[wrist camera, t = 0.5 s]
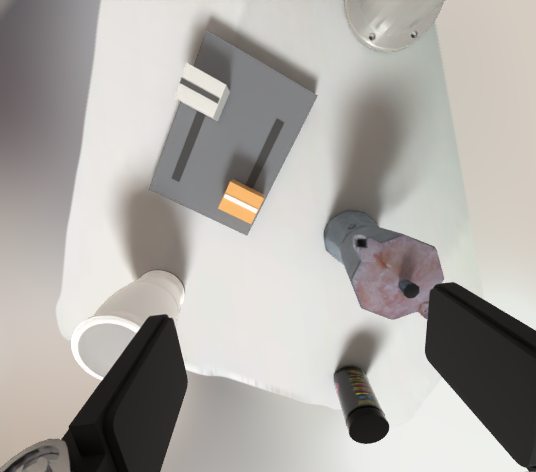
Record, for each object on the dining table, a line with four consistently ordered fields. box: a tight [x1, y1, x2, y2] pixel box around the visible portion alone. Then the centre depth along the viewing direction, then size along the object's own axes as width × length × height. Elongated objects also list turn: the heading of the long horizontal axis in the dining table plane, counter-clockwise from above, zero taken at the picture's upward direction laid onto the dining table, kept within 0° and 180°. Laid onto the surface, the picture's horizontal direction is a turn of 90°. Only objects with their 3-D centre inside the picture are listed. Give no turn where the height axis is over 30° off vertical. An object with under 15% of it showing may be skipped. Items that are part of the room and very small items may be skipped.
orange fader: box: [218, 179, 264, 224], centre depth 36 cm, size 4×5×4 cm
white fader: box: [174, 63, 230, 121], centre depth 32 cm, size 4×5×4 cm
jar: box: [71, 270, 185, 381], centre depth 38 cm, size 11×10×15 cm
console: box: [149, 30, 318, 235], centre depth 37 cm, size 22×16×3 cm
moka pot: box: [324, 211, 444, 319], centre depth 33 cm, size 10×15×20 cm, turn 50°
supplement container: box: [334, 366, 389, 444], centre depth 47 cm, size 7×7×10 cm
